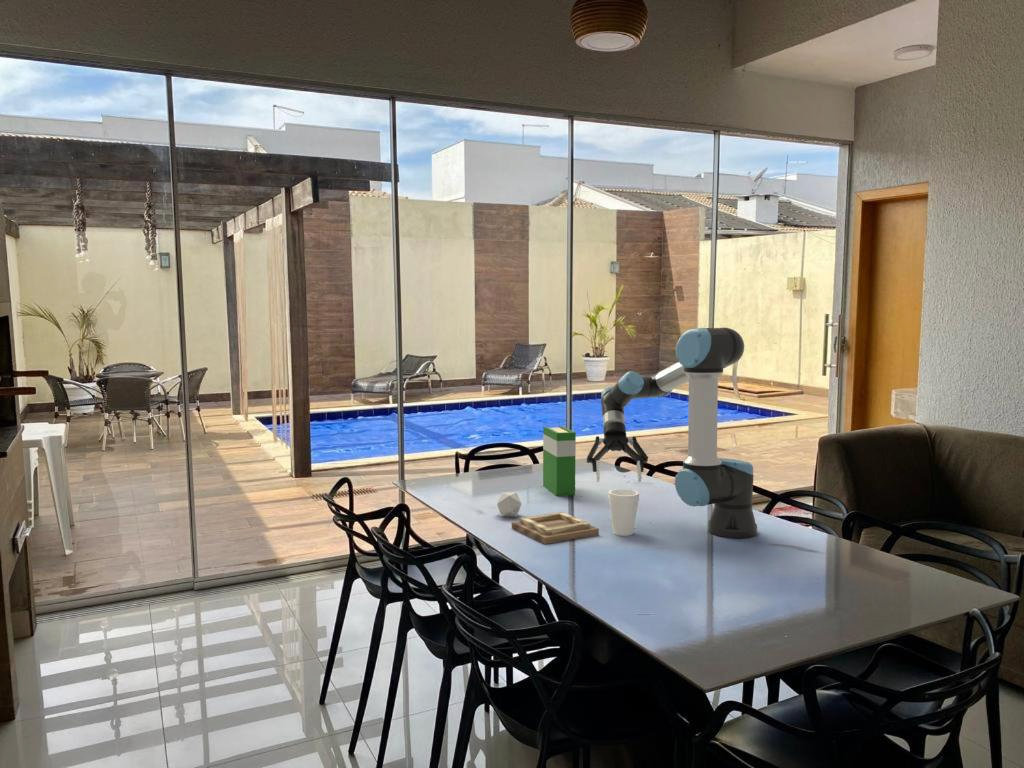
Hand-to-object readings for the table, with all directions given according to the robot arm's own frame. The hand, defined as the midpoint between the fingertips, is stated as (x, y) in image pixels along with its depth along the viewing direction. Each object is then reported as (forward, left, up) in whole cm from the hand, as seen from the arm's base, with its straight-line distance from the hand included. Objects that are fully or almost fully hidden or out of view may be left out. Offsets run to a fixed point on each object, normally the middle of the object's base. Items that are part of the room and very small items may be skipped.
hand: (619, 479), depth 262 cm
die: (+27, +26, -15) cm, 40 cm away
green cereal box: (+50, -9, -15) cm, 53 cm away
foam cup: (-9, +5, -15) cm, 18 cm away
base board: (+3, +23, -15) cm, 28 cm away
